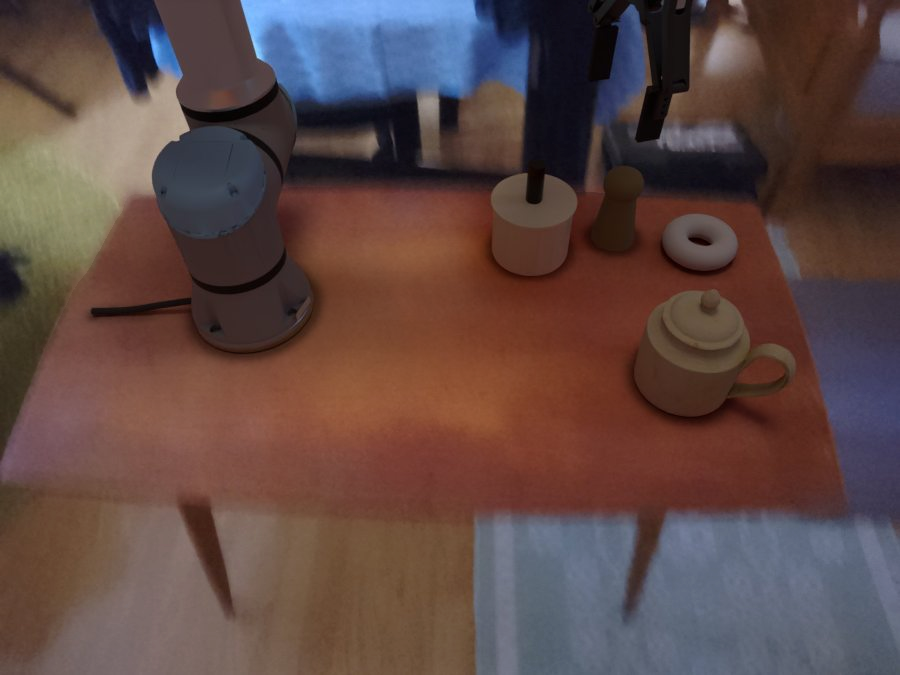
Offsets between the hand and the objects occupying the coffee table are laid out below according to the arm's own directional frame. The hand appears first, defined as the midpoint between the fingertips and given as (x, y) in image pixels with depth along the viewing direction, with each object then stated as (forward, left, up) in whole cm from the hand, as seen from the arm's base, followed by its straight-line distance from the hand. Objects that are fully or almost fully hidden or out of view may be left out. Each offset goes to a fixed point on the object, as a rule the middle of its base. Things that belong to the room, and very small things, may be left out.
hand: (621, 107), depth 81 cm
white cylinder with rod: (-10, 0, -12) cm, 16 cm away
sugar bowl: (+1, -27, -20) cm, 34 cm away
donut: (+12, -7, -20) cm, 25 cm away
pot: (-10, 0, -20) cm, 23 cm away
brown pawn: (+2, -1, -20) cm, 20 cm away
